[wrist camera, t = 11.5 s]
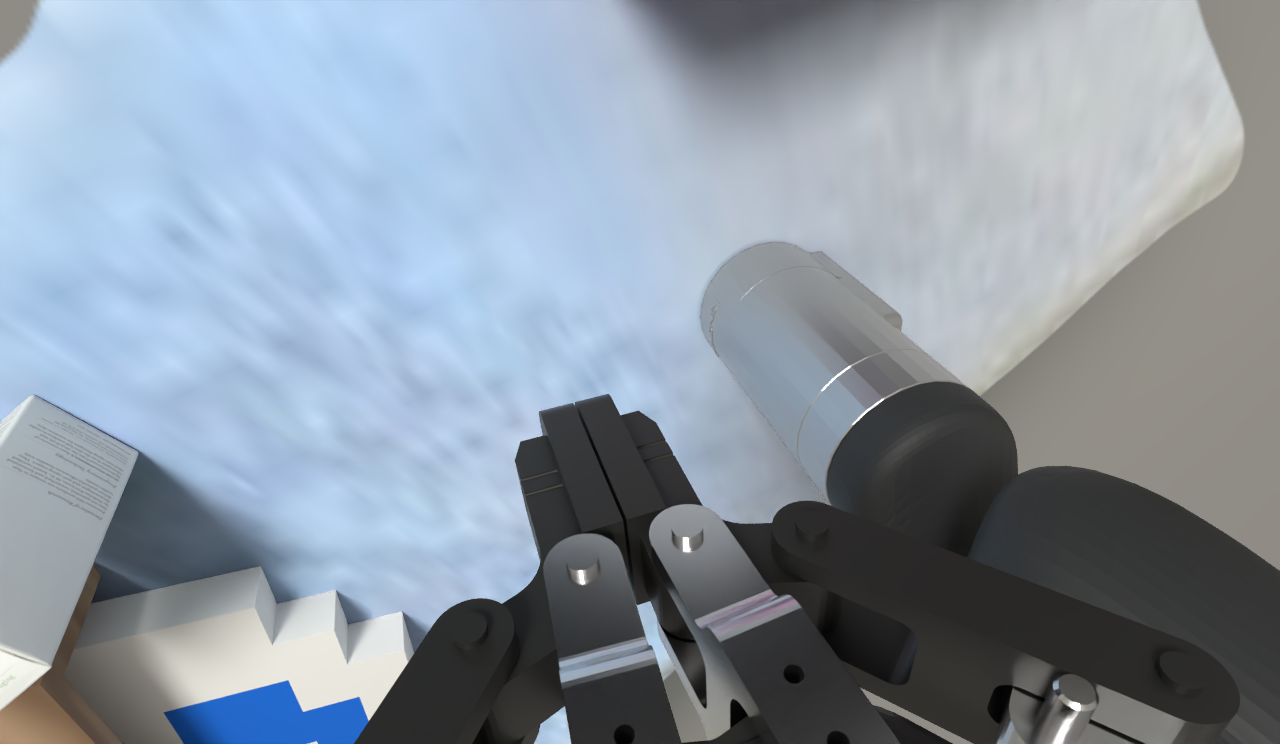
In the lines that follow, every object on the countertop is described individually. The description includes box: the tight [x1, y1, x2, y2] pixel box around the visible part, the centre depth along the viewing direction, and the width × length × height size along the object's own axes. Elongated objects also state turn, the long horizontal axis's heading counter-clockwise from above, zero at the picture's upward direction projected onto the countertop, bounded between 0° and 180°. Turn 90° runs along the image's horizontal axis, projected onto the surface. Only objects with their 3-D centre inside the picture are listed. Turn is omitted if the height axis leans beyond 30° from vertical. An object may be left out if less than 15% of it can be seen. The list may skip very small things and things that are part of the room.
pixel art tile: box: [63, 566, 414, 744], centre depth 55 cm, size 28×4×28 cm
